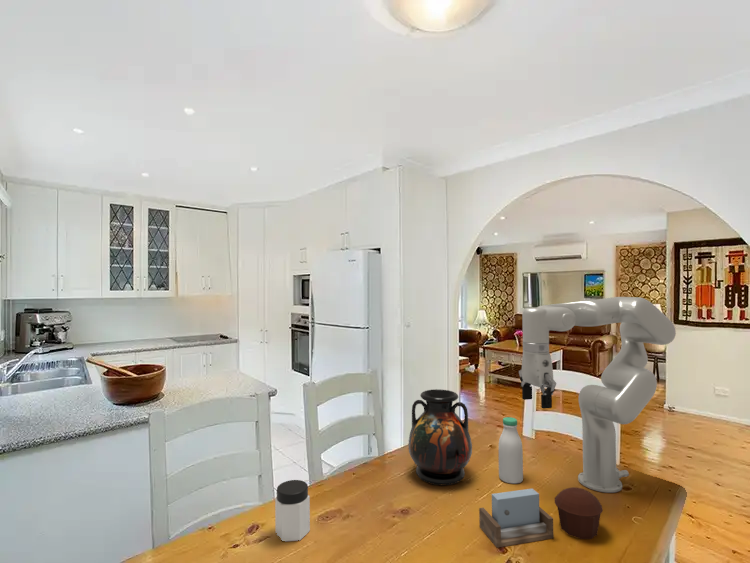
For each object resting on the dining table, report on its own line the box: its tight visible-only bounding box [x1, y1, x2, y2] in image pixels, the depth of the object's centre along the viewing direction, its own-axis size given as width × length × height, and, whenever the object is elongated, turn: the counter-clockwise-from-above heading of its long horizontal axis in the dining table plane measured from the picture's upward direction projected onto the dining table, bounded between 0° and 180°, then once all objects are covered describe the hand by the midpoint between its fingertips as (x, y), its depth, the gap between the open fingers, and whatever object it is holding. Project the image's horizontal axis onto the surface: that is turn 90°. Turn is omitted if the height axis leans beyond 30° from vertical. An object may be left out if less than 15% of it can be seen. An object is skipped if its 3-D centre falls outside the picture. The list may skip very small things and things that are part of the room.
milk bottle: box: [498, 416, 524, 484], centre depth 137 cm, size 8×8×20 cm
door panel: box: [491, 488, 540, 529], centre depth 107 cm, size 12×3×9 cm, turn 103°
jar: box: [274, 479, 311, 542], centre depth 108 cm, size 9×8×12 cm
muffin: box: [554, 487, 604, 540], centre depth 108 cm, size 12×11×10 cm
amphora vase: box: [407, 388, 473, 486], centre depth 140 cm, size 22×22×28 cm
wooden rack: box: [478, 506, 554, 548], centre depth 107 cm, size 16×9×5 cm, turn 103°
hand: (536, 403), depth 126 cm, fingers open, 9 cm apart
